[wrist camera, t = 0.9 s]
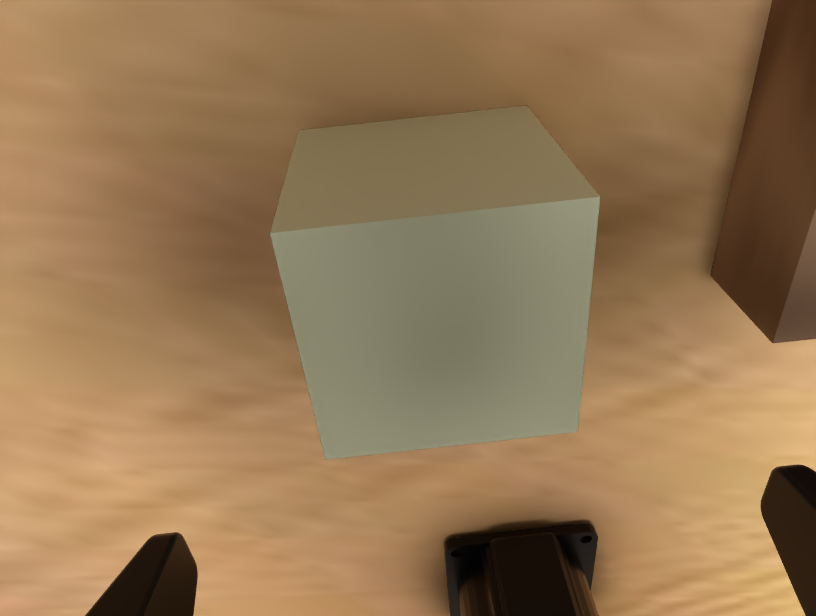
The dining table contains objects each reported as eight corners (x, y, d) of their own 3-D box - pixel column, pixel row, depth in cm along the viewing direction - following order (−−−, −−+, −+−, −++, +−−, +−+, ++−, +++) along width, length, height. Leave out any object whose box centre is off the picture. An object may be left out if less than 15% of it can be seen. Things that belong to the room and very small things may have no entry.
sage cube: (522, 295, 19) (577, 432, 14) (335, 315, 19) (324, 460, 14) (525, 104, 16) (600, 196, 11) (299, 129, 16) (270, 233, 11)
